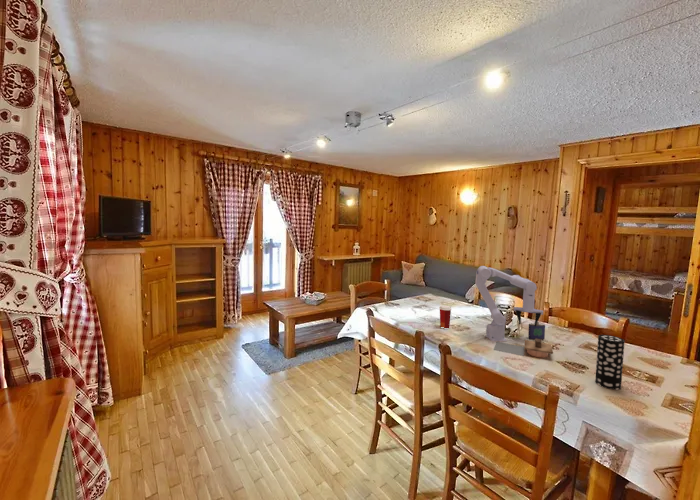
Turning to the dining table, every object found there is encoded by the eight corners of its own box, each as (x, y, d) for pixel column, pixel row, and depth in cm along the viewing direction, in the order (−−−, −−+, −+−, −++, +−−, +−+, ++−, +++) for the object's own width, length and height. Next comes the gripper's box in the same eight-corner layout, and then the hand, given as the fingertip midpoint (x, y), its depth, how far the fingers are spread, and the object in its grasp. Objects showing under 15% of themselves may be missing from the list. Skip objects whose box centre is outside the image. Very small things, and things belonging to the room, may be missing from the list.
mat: (493, 350, 162) (493, 349, 162) (496, 342, 174) (496, 341, 174) (523, 356, 155) (523, 355, 155) (524, 347, 166) (524, 346, 166)
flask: (543, 338, 181) (543, 320, 180) (546, 340, 178) (546, 322, 177) (527, 338, 181) (528, 320, 180) (529, 339, 178) (530, 322, 177)
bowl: (535, 358, 152) (536, 351, 152) (523, 351, 161) (523, 344, 161) (552, 358, 153) (552, 350, 153) (539, 350, 162) (539, 343, 162)
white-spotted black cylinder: (590, 379, 131) (593, 335, 130) (607, 379, 132) (610, 334, 130) (607, 390, 123) (611, 342, 122) (626, 389, 124) (630, 341, 122)
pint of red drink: (450, 326, 201) (451, 305, 200) (450, 330, 194) (451, 308, 193) (438, 325, 204) (439, 304, 203) (438, 328, 197) (438, 307, 196)
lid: (524, 349, 155) (525, 341, 155) (524, 341, 165) (524, 334, 165) (552, 353, 149) (553, 346, 149) (550, 345, 159) (551, 338, 159)
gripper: (513, 301, 174) (512, 324, 175) (543, 304, 166) (542, 328, 167) (514, 298, 180) (513, 321, 181) (543, 302, 172) (542, 325, 173)
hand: (527, 324), depth 175 cm, fingers open, 7 cm apart
